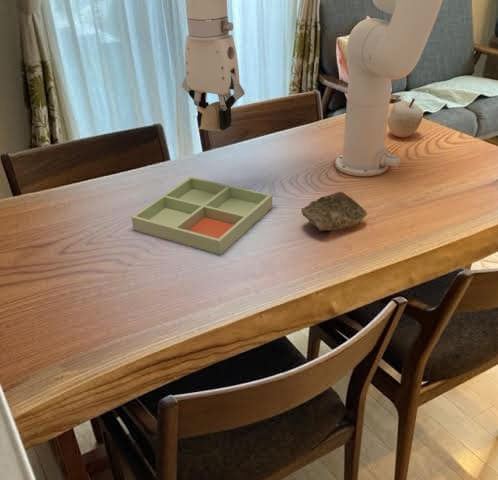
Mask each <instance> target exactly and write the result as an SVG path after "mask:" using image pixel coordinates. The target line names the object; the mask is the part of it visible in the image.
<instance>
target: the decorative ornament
mask: <svg viewBox="0 0 498 480" xmlns="http://www.w3.org/2000/svg"><path fill="white" fill-rule="evenodd" d="M197 110H198V111H199V112H200V113H202V118H201V126H199V128H198V130H204V131H210V132H211V131H212V132H221V131H223V130H221V129H220V121H219V110H221V105H220V101H219V100H218V101H215V102H212V103H209V105H208V106H207V107H206V108H205V109H204V108H202V107H200V106H198V107H197V106H196V111H197ZM198 111H197V112H198Z"/></svg>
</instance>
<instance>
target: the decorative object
mask: <svg viewBox="0 0 498 480" xmlns="http://www.w3.org/2000/svg"><path fill="white" fill-rule="evenodd" d="M415 100H416V98H415V97H413V98H412V100H411V101H407V100H400V101H397V102H395V103H394V104H392V107H391V110H390V112H389V114H388V119H387V126H388V129H389V131H390V133H391V134H392V135H394V136H395V137H398V138H407V137H410V136H411V135H413V134H414V133H416V131H417V130H418V129H419V127H420V125H421V123H422V121H423V118H424V111H423V110H422V108H421V107H420V106H419V105H417V104H416V103H414V102H415Z"/></svg>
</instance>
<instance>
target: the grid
mask: <svg viewBox="0 0 498 480" xmlns="http://www.w3.org/2000/svg"><path fill="white" fill-rule="evenodd" d="M271 209H273V195H272V194H270V193H265V192H260V191H257V190H252V189H248V188H243V187H238V186H234V185H229V184H225V183H220V182H216V181H211V180H208V179H203V178H198V177H193V176H189V177H188V178H186V179H184V180H183V181H182V182H180V183H179V184H178V185H176V186H174V187H173V188H172V189H170V190H168V191H167V192H166V193H164V194H163V195H161V196H159V198H157V199H155V200H154V201H152V202H150V203H149V204H148V205H147V206H145V207H143V208H142V209H141V210H139V211H138V212H136V213H134V215H132V216H130V218H131V223H132V229H133V230H134V231H137V232H140V233H144V234H146V235H150V236H153V237H157V238H161V239H163V240H164V239H165V240H166V241H167V240H168V241H170V242H171V241H172V242H174V243H179V244H181V245H184V246H188V247H192V248H195V249H199V250H201V251H202V250H203V251H206V252H209V253H213V254H217V255H222V254H223V253H224V252H226V250H228V249H229V248H230V247H231V246H232V245H233V244H234V243H235V242H236V241H237V240H238V239H240V238H241V237H242V236H243V235H244V234H245V233H246V232H247V231H249V230H250V229H251V228H252V227H253V226H254V225H255V224H256V223H257V222H258V221H260V220H261V219H262V218H263V217H264V216H265V215H266V214H267V213H269V212H270V211H271Z"/></svg>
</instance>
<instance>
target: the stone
mask: <svg viewBox="0 0 498 480" xmlns="http://www.w3.org/2000/svg"><path fill="white" fill-rule="evenodd" d="M300 212H301V213H302V216H303V217H304V218H306V219H307V220H308V221H309V223H311V225H312V226H314V227H315V228H317V229H318V230H319V231H320V232H322V231H331V232H341V231H347V230H349V229H352V228H354V227H356V226H357V225H358V224H360V222H362V221H363V220H364V219H365V218H366V216H367V214H368V213H367V211H366V210H365V208H364V207H363V206H361V204H359V202H357V201H355V200H354V199H353V198H352V197H350V196H348V194H346V193H344V192H343V191H338V192H335V193H331V194H329V195H324V196H321V197H320V198H317V199H316V200H313V201H310V202H309V204H308V205H306V206H304V207H302V208H301V211H300Z"/></svg>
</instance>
